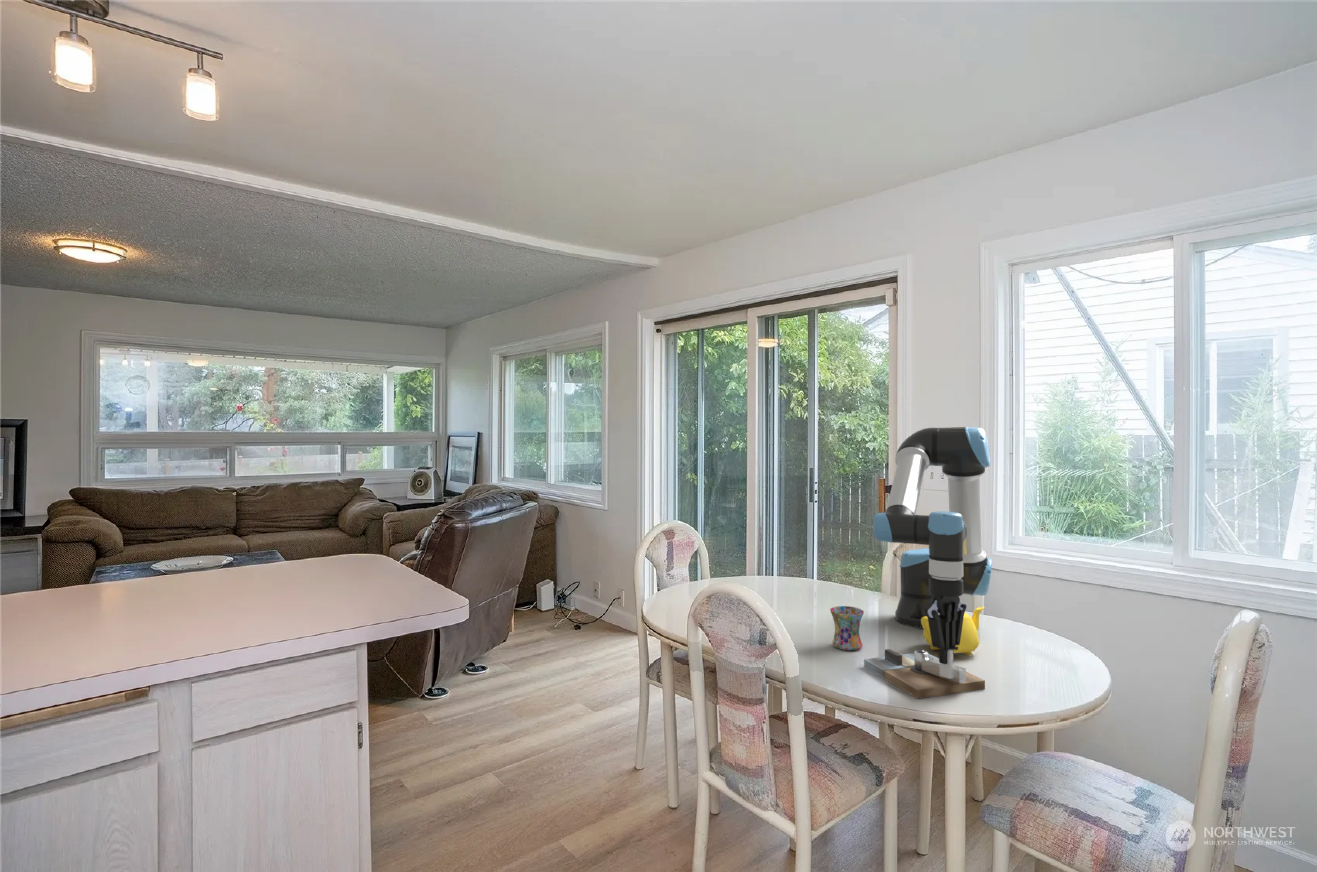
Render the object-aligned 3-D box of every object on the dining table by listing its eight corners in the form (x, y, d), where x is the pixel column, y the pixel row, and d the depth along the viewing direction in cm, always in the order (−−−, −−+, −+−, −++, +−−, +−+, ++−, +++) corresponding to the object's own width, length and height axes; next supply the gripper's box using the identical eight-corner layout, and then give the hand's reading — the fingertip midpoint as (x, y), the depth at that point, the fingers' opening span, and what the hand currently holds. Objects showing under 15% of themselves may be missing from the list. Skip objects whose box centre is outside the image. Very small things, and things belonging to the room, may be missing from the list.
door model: (924, 658, 171) (924, 642, 171) (984, 688, 151) (984, 670, 151) (864, 666, 166) (863, 649, 166) (918, 698, 146) (918, 679, 146)
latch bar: (911, 667, 158) (911, 649, 158) (919, 664, 160) (919, 647, 160) (958, 683, 148) (958, 665, 148) (966, 680, 150) (966, 662, 149)
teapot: (1001, 656, 173) (1001, 611, 173) (937, 662, 169) (936, 616, 169) (967, 640, 186) (967, 598, 186) (907, 645, 182) (906, 603, 182)
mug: (867, 653, 176) (867, 615, 176) (834, 652, 177) (833, 614, 177) (857, 639, 188) (857, 603, 188) (825, 638, 189) (825, 603, 189)
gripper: (948, 571, 157) (948, 666, 157) (914, 577, 150) (915, 676, 150) (976, 577, 151) (977, 676, 150) (943, 582, 144) (943, 686, 144)
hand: (946, 676), depth 150 cm, fingers closed
